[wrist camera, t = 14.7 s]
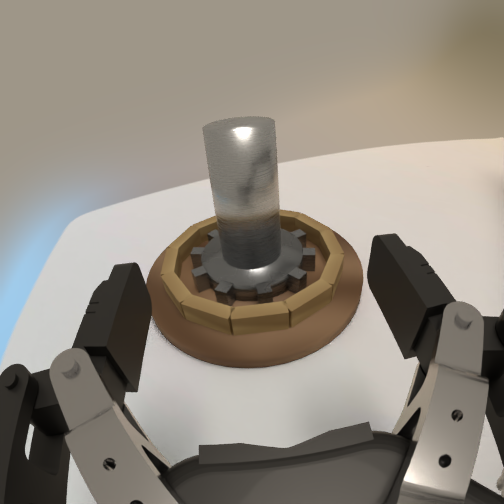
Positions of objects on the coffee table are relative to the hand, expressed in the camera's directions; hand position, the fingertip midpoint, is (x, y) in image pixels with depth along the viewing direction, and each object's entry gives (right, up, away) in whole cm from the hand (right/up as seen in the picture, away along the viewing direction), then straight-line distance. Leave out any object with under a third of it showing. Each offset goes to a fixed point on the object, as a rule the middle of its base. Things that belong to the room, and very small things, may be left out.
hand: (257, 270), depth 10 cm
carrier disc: (0, -1, +15) cm, 15 cm away
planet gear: (0, -1, +14) cm, 14 cm away
